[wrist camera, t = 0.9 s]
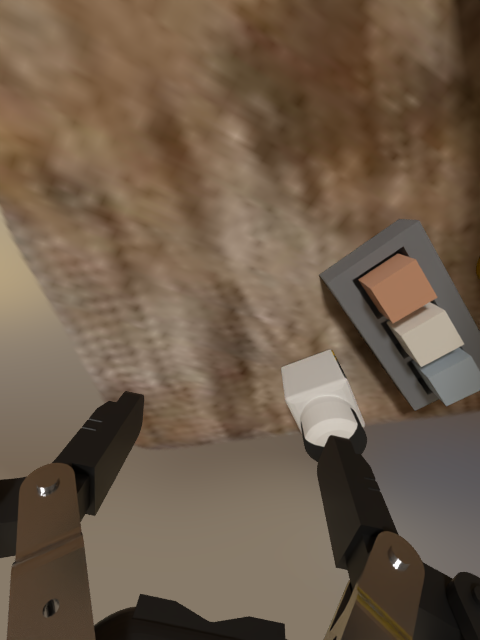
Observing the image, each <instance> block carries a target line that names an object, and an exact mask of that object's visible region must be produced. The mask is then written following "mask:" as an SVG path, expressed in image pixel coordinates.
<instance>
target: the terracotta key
mask: <svg viewBox="0 0 480 640" xmlns="http://www.w3.org/2000/svg"><path fill="white" fill-rule="evenodd" d="M358 280H359V282H360V283H361V285H362V286H363V288H364V289H365V291H366V292H367V294H368V295H369V297H370V299H371V300H372V302H373V303H374V305H375V306H376V308H377V309H378V311H379V312H380V313H381V314H383V315H384V316H385V317H386V318H387V319H388V320H390V321H391V322H392V323H395V322H397V321H398V320H400V319H402V318H403V317H405V316H407V315H409V314H410V313H412V312H414V311H415V310H417V309H419V308H420V307H422V306H424V305H426V304H427V303H429V302H431V301H432V300H434V299H436V298H437V295H436V294H435V292H434V290H433V288H432V287H431V285H430V283H429V281H428V280H427V278H426V276H425V274H424V273H423V271H422V269H421V267H420V266H419V264H418V262H417V260H416V259H413V258H410V257H407V256H404V255H401V254H396V255H395V256H393V257H392V258H390V259H389V260H387V261H386V262H384V263H383V264H381V265H380V266H378V267H377V268H375V269H374V270H372V271H370V272H369V273H367V274H366V275H364V276H363V277H361V278H360V279H358Z"/></svg>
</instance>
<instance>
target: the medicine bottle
mask: <svg viewBox="0 0 480 640" xmlns="http://www.w3.org/2000/svg"><path fill="white" fill-rule="evenodd" d="M281 372H282V380H283V387H284V395H285V401H286V403H287V405H288V407H289V409H290V411H291V413H292V415H293V417H294V419H295V421H296V423H297V425H298V427H299V429H300V431H301V433H302V435H303V440H304V446H305V449H306V452H307V453H308V454H309V456H310V457H311V458H313V459H314V460H316V461H317V462H318V461H319V458H320V456H321V454H322V451H323V449H324V447H325V444H326V442H327V439H328V437H329V436H330V435H333V436H338V437H343V438H348V439H349V440H350V441H351V443H352V446H353V448H354V451H355V453H356V454H360V455H361V454H362V453H363V451H364V449H365V447H366V444H367V437H366V434H365V431H364V429H363V427H365V422H364V420H363V417H362V415H361V412H360V410H359V407H358V405H357V402H356V400H355V397H354V395H353V392H352V390H351V387H350V385H349V382H348V380H347V378H346V376H345V374H344V372H343V370H342V368H341V366H340V364H339V362H338V360H337V358H336V356H335V354H334V352H333V351H332V350H327V351H324V352H322V353H319V354H316V355H313V356H311V357H308V358H305V359H302V360H300V361H297V362H294V363H292V364H289V365H286V366H283V367H282V368H281Z"/></svg>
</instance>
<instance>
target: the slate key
mask: <svg viewBox="0 0 480 640" xmlns="http://www.w3.org/2000/svg"><path fill="white" fill-rule="evenodd" d="M412 363H413V364H414V366H415V368H416V369H417V371H418V372H419V374H420V375H421V377H422V378H423V380H424V381H425V383H426V384H427V386H428V387H429V388H430V389H431V391H432V392H433V393H434V394H435V395H436V396H437V397H438V398H439V399H440V400H441V401H442V402H443V403H444V404H445V405H446V406H448V405H450V404H452V403H455V402H457V401H459V400H461V399H463V398H465V397H467V396H469V395H471V394H474V393H476V392H478V391H480V371H479V369H478V367H477V365H476V364H475V362H474V360H473V358H472V357H471V356H470V355H469V354H468V353H466V352H465V351H463V350H462V349H460V348H459V347H458V348H457V349H455V350H453V351H451V352H449V353H447V354H445V355H443V356H441V357H440V358H438V359H436V360H434V361H432V362H430V363H428V364H426V365H424V366H422V367H421V366H420V365H418V364H417V363H416V362H415V361H414V360H412Z"/></svg>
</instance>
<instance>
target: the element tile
mask: <svg viewBox="0 0 480 640" xmlns="http://www.w3.org/2000/svg"><path fill="white" fill-rule="evenodd" d="M476 273H477V276H478V278H479V279H480V258H479V260H478V263H477V266H476Z"/></svg>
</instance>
